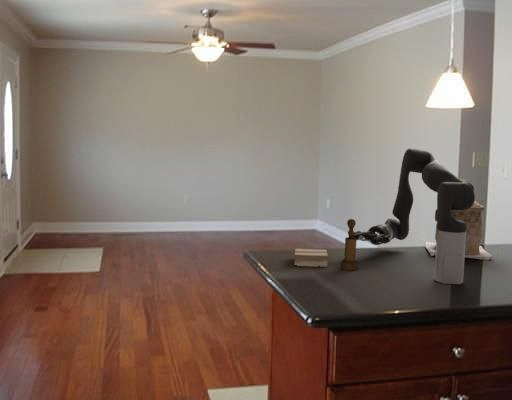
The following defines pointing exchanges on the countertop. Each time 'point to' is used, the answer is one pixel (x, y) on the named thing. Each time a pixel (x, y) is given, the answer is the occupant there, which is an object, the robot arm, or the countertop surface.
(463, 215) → the brown stone tower
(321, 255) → the plinth
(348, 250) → the mortar and pestle
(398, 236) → the robot arm
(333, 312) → the countertop surface
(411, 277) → the countertop surface
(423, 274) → the countertop surface
